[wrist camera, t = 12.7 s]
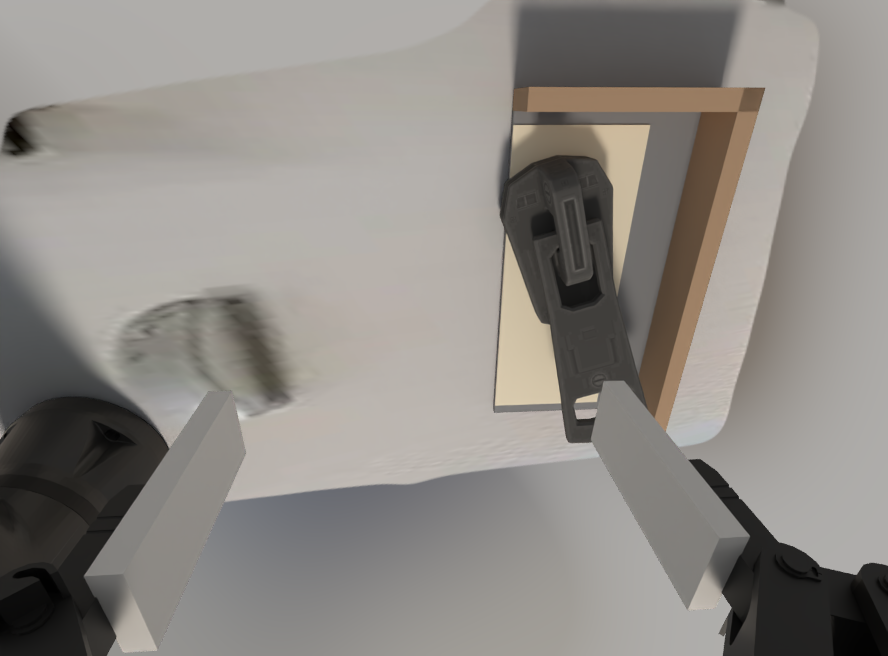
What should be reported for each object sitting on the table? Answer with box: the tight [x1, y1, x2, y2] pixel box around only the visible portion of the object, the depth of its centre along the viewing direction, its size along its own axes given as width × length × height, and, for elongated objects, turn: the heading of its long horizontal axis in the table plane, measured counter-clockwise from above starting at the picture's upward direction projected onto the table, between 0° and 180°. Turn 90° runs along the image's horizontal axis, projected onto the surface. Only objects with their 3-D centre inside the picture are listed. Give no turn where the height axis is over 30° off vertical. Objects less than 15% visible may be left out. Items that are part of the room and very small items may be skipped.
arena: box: [493, 87, 765, 432], centre depth 39 cm, size 16×30×5 cm, turn 0°
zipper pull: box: [500, 155, 648, 443], centre depth 39 cm, size 9×7×25 cm
